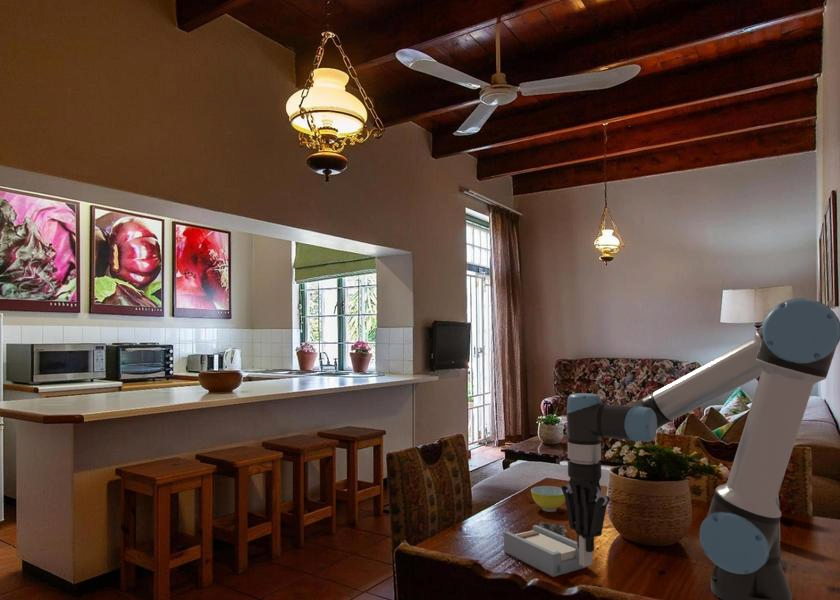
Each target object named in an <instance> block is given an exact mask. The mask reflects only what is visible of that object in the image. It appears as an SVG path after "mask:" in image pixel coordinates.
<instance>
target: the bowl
mask: <svg viewBox="0 0 840 600" xmlns="http://www.w3.org/2000/svg"><path fill="white" fill-rule="evenodd" d="M530 494H531V497H532V499H533V501H534V503H535V504H536V505H538V506H539V507H541V510H542V511H544V512H548V513H553V512H557V509H558V508H559V507H561V506H562V505H564V503H566V502H565V496H564V494H563V491H562V489H561V487H558V486H551V485H550V486H549V485H539V486H535V487H532V488H531V489H530Z"/></svg>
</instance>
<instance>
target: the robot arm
mask: <svg viewBox="0 0 840 600" xmlns="http://www.w3.org/2000/svg"><path fill="white" fill-rule="evenodd" d="M839 343H840V319H839V317H838V315H837V314H836V312H835V311H833V309H831V308H830V307H829V306H828V305H827V304H825V303H823V302H821V301H817V300H814V299H813V298H812V299H809V298H802V297H801V298H792V299H788V300H785V301H782V302H781V303H779V304H777V305H776V306H774V307H773V308H772V309H771V310H769V313H768V314H767V315H766V317H765V318H764V320H763V324H762V327H761V328H758V329H757V330H756V331H755V333H754V337H753V338H751V339H749V340H747V341H745V342H743V343H742V344H740V345H738V346H736V347H734V348H732V349H731V350H729V351H727V352H725V353H723V354H722V355H720V356H718V357H716V358H714V359H711V360H710V361H709V362H707V363H705V364H703V365H701V366H700V367H698V368H696V369H694V370H692V371H690V372H688V373H687V374H685V375H683V376H681V377H679V378H678V379H677V378H676V379H675V380H674V381H672V382H671V383H668V384H666V385H665V386H663V387H661V388H659V389H657V390H655V391H654V392H652V393H649V394H648V395H646V396H644V397H642V398H640V399H639V400H637V401H635V402H631V403H628V404H624V405H623V404H605V403H602V400H601V397H600V395H599V394H596V393H586V392H585V393H584V392H580V393H579V392H577V393H571V394H569V396H568V397H567V402H566V403H567V404H566V405H567V406H566V412H565V413H566V424H567V426H566V427H567V459H569V460H568V461H567V476H568V477H569V481H568V483H567V484H566V485H565V484H564V485H561V487H560V488H561V489H562V491H563V494H564V496H565V502H564V503H565V508H566V511H567V518H568V519H567V520H568V525H569V528H570V530H573V531H575V533H576V542H577V546H578V548H579V565H581V566H584V567H585V566H587V567H588V566H591V565H593V552H594V551H595V538H596V537H599V536H602V534H603V533H602V532H603V527H604V523H605V517H606V511H607V506H608V504H609V503H610V501H611V498H610V496H608V495H605V494H604V493H603V492H602V488H601V487H602V486H601V484H600V481H601V478H602V463H601V462H600V461H601V460H602V451H601V450H602V446H601V445H602V439H601V438H607V439H618V440H624V441H633V442H636V443H638V442H646V443H649V442H652V441H653V440H654V439H655V437H656V436H657V430H658V429H659V428H661V427H662V426H664V425H667V424H668V423H671V422H672V421H674V420H676V419H678V418H680V417H682V416H684V415H686V414H688V413H691V412H692V411H694V410H696V409H697V408H699V407H702V406H704V405H706V404H707V403H710V402H711V401H713V400H715V399H717V398H718V399H719V398H720V397H722V396H724V395H726V394H727V393H729V392H732V391H733V390H736V389H738V388H740V387H741V386H744V385H745V384H747V383H750V382H751V381H753V380H756V379H757V378H759V379H758V381H757V386H756V389H755V392H754V395H753V397H752V402H751V405H750V408H749V411H748V414H747V417H746V420H745V424H744V427H743V430H742V434H741V436H740V441H739V443H738V447H737V450H736V452H735V455H734V460H733V462H732V465H731V468H730V472H729V475H728V478H727V482H726V483H723V484H719V485H718V486H717V487H716V488H715V491H714V494H713V495H712V500H711V503H710V506H709V509H708V511H707V512H708V513H707V515H706V517H705V518H704V519H703V520H702V522H701V524H700V527H699V542H700V546H701V548H702V549H703V551H704V553H705V555H706V556H707V557H708V559H709V560H711V562H713V564H715V565H714V568H713V571H712V574H711V577H710V590H711V592H712V594H713V595H714V596H715V595H716V596H715V597H717V598H718V599H719V598H720V599H719V600H721V599H722V600H793V598H792V597H793V596H792V595H793V594H792V590H791V588H790V586H789V582H788V580H787V578H786V575H785V572H784V570H783V567H782V564H781V561H782V560H781V543H780V541H781V534H780V535H779V521H780V522H781V517H782V511H781V510H780V508H781V507H780V503H779V504H778V498H779V492H780V490H781V487H782V486H781V485H782V483H783V480H784V477H785V473H786V470H787V468H788V465H789V461H790V459H791V456H792V451H793V449H794V447H795V443H796V440H797V436H798V434H799V431H800V427H801V424H802V421H803V419H804V416H805V415H804V414H805V412H806V410H807V407H808V403H809V400H810V397H811V395H812V390H813V388H814V385H815V384H818V383H820V382H821V381H824V380H826V379H827V377H828V374H829V370H830V367H831V365H832V361H833V358H834V355H835V352H836V349H837V346H838V345H839ZM777 496H778V497H777Z"/></svg>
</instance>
